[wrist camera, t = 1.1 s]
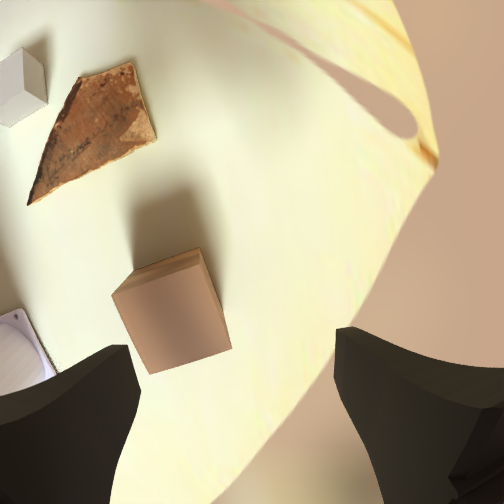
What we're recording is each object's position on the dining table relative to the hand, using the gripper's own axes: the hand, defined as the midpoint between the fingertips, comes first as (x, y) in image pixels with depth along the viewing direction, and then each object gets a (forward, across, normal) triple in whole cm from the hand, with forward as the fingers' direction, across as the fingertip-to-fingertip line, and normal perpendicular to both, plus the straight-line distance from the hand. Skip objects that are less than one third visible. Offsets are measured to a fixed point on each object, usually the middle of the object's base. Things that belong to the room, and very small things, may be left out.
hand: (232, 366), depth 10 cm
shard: (+12, +9, -10) cm, 18 cm away
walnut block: (+12, +4, +1) cm, 12 cm away
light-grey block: (+11, +16, -16) cm, 25 cm away
